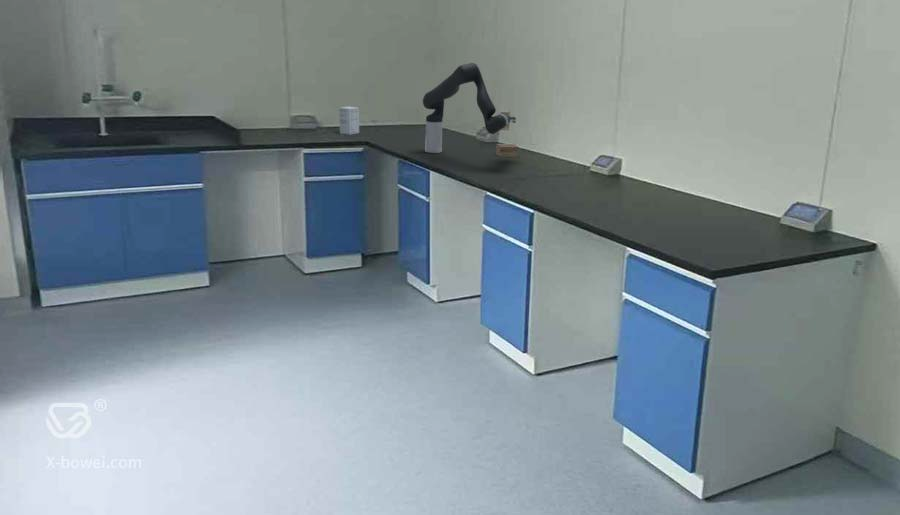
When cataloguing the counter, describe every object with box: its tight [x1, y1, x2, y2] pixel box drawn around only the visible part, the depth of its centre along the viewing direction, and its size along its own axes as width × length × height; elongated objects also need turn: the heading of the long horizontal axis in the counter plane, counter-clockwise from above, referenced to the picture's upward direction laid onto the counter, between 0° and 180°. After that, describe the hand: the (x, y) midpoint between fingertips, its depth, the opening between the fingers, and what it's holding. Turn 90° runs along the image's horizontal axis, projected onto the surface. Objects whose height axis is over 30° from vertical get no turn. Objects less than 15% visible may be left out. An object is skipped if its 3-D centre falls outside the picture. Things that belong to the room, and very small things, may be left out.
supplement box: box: [338, 106, 360, 136], centre depth 482 cm, size 10×9×17 cm
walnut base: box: [495, 143, 519, 158], centre depth 414 cm, size 10×10×6 cm
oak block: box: [499, 110, 511, 131], centre depth 396 cm, size 4×4×10 cm
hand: (505, 117), depth 399 cm, fingers closed on oak block, 4 cm apart
